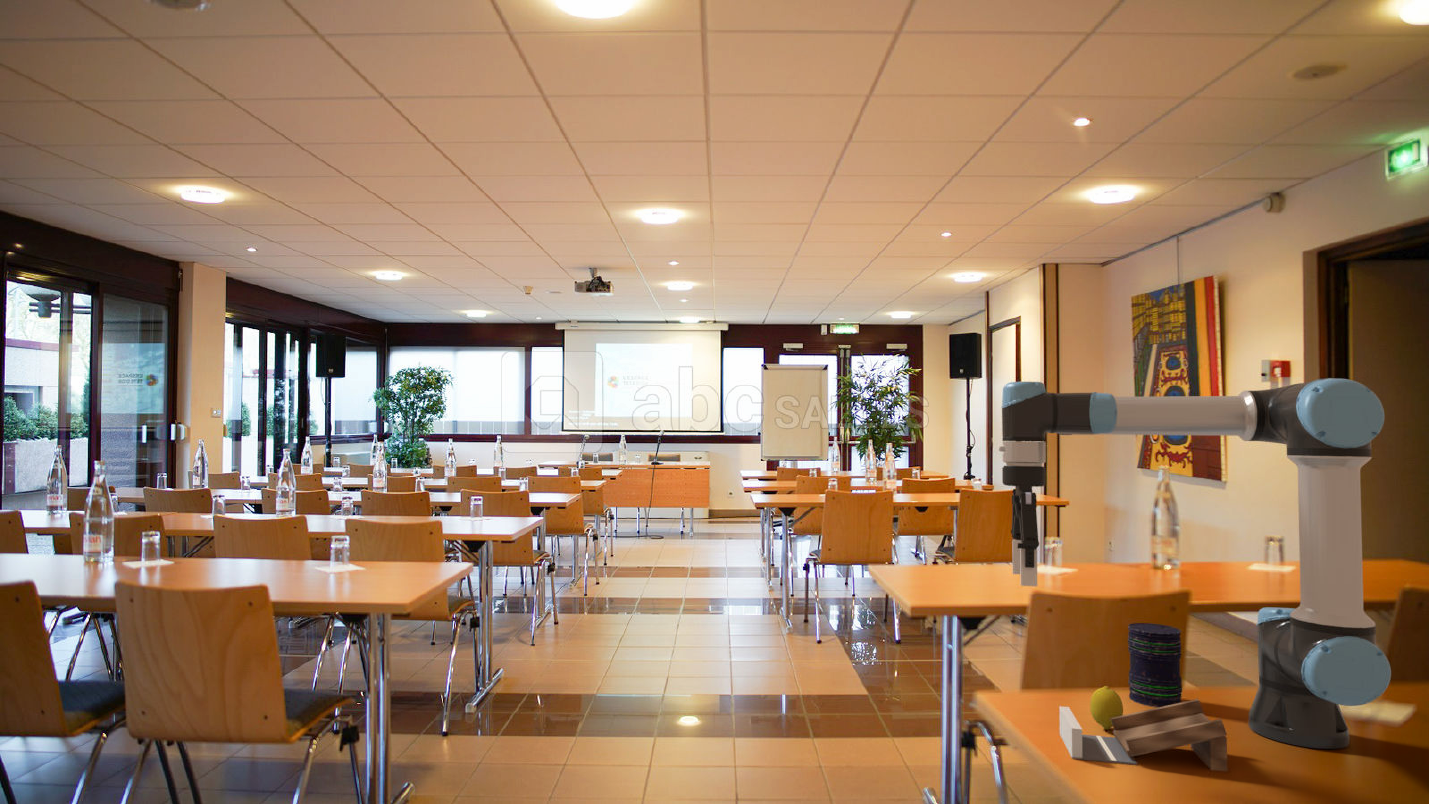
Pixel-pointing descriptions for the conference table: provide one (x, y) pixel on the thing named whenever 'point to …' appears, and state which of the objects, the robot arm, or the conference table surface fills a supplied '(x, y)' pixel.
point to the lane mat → (1097, 753)
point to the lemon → (1105, 706)
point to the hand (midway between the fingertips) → (1024, 579)
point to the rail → (1071, 732)
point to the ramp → (1173, 732)
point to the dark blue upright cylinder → (1154, 664)
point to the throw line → (1106, 748)
